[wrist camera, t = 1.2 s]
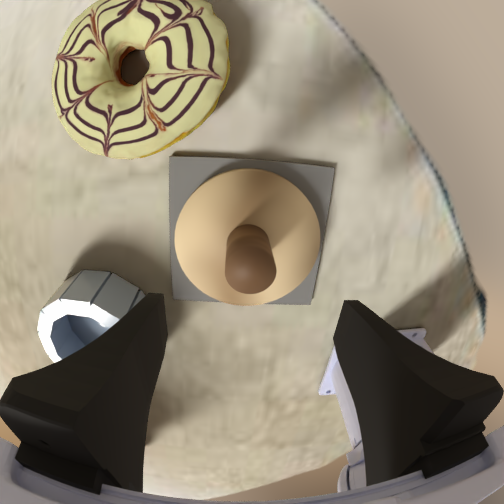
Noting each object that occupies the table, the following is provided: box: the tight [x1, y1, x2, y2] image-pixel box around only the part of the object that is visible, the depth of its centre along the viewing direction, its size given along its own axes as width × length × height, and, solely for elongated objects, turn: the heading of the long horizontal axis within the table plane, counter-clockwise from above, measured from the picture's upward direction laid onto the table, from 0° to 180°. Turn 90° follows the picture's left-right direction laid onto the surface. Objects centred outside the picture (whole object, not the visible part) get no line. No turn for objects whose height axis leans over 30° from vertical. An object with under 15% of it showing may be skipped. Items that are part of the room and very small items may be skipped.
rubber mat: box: [169, 156, 335, 305], centre depth 19 cm, size 10×10×1 cm
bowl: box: [37, 270, 145, 363], centre depth 20 cm, size 9×9×4 cm
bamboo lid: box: [175, 168, 320, 306], centre depth 17 cm, size 9×9×4 cm
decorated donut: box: [52, 0, 231, 160], centre depth 13 cm, size 10×11×4 cm
